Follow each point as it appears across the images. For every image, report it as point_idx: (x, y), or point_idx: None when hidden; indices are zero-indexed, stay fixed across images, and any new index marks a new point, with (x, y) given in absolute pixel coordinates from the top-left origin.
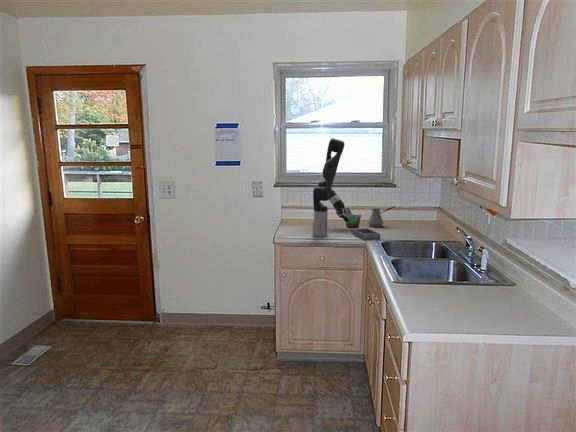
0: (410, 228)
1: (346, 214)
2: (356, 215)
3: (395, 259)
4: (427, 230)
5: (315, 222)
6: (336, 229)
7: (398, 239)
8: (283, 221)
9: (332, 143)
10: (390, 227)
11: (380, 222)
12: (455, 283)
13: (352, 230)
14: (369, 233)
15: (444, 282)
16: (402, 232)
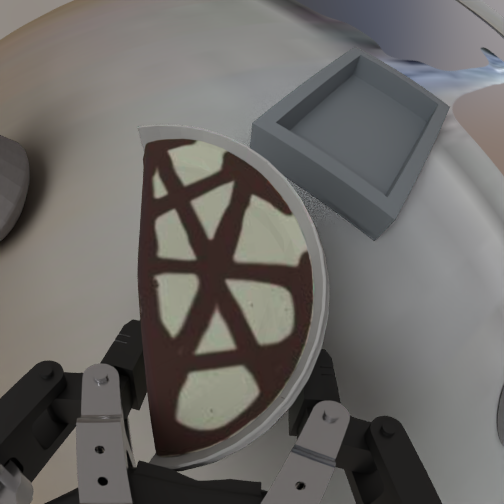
0: (34, 63)
1: (293, 388)
2: (252, 157)
3: (481, 48)
4: (65, 23)
5: None
6: None
7: (296, 24)
8: None
9: None
10: (18, 124)
11: (10, 139)
12: (470, 9)
13: (390, 223)
14: (296, 123)
15: (480, 17)
16: (132, 42)
